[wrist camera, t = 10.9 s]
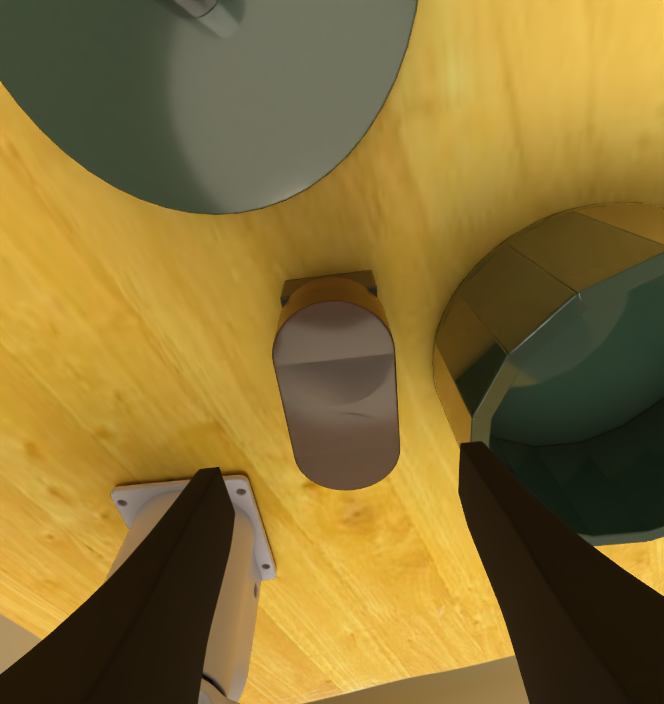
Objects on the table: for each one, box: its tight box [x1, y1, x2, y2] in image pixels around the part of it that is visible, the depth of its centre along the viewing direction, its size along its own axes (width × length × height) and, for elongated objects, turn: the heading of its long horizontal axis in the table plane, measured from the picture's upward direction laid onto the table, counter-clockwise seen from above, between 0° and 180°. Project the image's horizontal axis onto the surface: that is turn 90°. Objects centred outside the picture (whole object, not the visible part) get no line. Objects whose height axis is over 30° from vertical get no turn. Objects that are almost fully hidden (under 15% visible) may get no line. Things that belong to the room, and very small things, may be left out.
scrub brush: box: [272, 270, 400, 490], centre depth 18 cm, size 9×4×4 cm, turn 7°
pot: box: [433, 202, 664, 546], centre depth 17 cm, size 13×13×6 cm
